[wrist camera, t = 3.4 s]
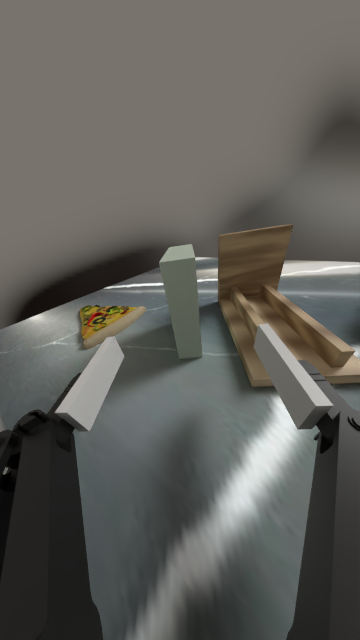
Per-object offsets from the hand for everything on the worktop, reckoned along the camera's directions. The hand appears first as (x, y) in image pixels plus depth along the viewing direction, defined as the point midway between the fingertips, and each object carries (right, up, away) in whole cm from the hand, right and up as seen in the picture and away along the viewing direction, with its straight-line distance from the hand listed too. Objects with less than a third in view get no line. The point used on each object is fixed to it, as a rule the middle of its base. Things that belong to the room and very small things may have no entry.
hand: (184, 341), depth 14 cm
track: (+14, +1, +12) cm, 18 cm away
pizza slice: (-20, +2, +23) cm, 31 cm away
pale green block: (+1, -1, +12) cm, 12 cm away
